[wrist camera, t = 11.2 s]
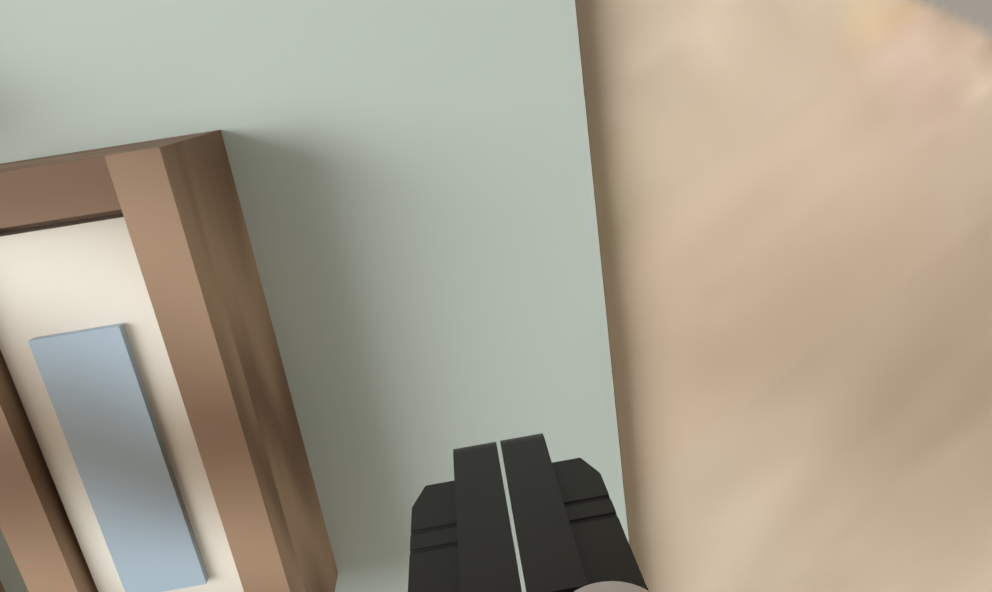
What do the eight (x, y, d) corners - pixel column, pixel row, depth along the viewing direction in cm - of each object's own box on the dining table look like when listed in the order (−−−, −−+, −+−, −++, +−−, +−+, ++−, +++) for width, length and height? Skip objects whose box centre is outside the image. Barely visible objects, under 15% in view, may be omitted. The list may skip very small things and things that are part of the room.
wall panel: (632, 637, 24) (670, 744, 20) (38, 748, 23) (-40, 882, 19) (548, -174, 16) (585, -249, 12) (-346, -51, 15) (-600, -89, 12)
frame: (338, 572, 21) (317, 685, 17) (151, 606, 21) (89, 728, 17) (220, 129, 17) (159, 147, 13) (-15, 166, 16) (-148, 194, 13)
